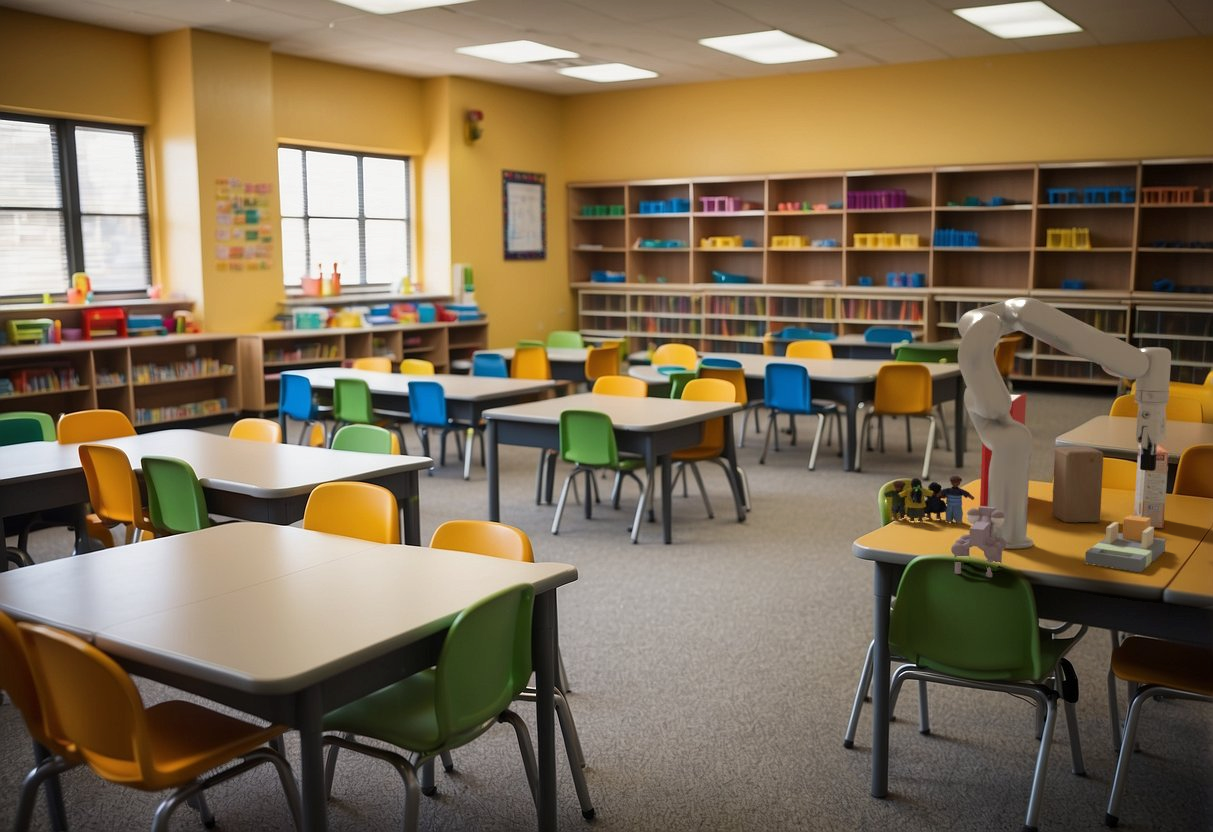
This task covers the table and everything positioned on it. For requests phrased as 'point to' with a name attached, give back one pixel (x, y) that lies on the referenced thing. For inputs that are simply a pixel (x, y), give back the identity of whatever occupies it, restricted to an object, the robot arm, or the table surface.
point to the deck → (1125, 550)
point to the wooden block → (1077, 484)
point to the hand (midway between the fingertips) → (1147, 469)
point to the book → (1017, 415)
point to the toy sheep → (981, 536)
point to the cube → (1135, 527)
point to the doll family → (928, 500)
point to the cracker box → (1152, 489)
